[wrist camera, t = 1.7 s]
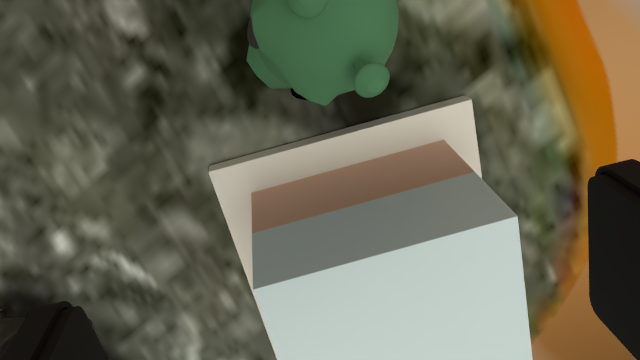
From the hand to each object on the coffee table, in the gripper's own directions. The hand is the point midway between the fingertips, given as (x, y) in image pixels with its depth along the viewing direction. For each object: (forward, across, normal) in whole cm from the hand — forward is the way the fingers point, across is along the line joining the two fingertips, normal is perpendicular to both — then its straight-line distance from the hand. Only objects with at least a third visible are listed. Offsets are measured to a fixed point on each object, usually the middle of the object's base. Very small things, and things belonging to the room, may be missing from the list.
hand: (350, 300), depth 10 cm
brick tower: (+23, -2, +13) cm, 27 cm away
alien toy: (+23, -2, -2) cm, 23 cm away
